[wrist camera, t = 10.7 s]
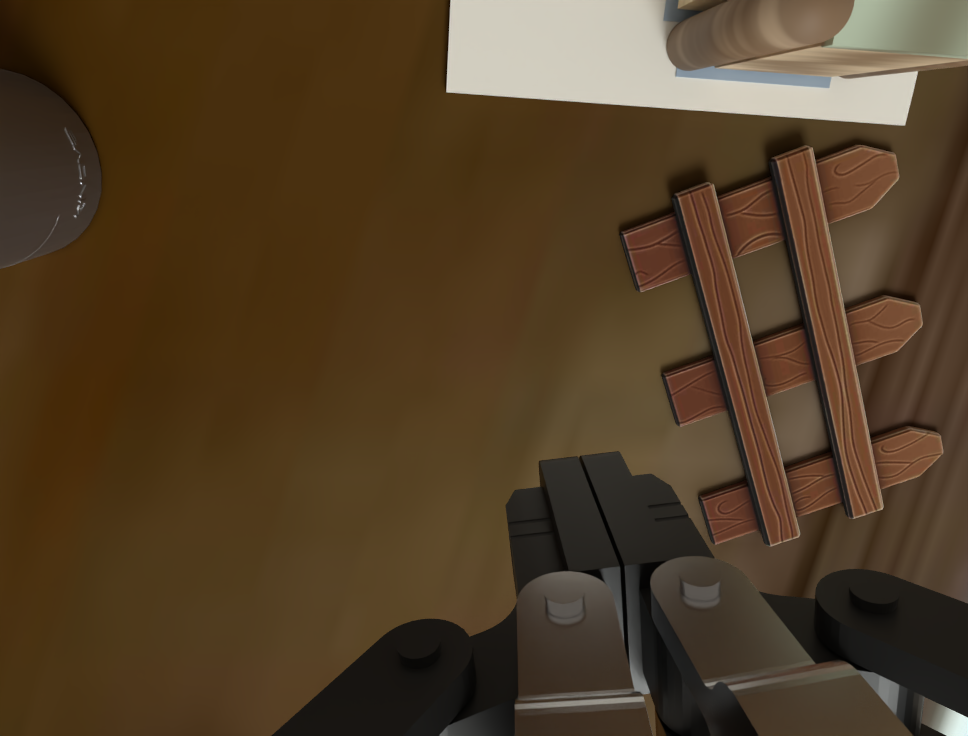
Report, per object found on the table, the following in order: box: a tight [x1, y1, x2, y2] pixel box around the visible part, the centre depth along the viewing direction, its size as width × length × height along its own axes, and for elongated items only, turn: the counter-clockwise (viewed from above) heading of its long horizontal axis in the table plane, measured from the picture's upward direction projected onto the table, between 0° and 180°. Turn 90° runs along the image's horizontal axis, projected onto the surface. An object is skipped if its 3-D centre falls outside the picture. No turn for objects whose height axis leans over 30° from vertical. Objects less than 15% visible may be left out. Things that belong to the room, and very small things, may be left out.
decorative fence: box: [619, 145, 943, 546], centre depth 41 cm, size 23×2×15 cm
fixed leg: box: [666, 0, 968, 79], centre depth 29 cm, size 10×2×13 cm, turn 86°
